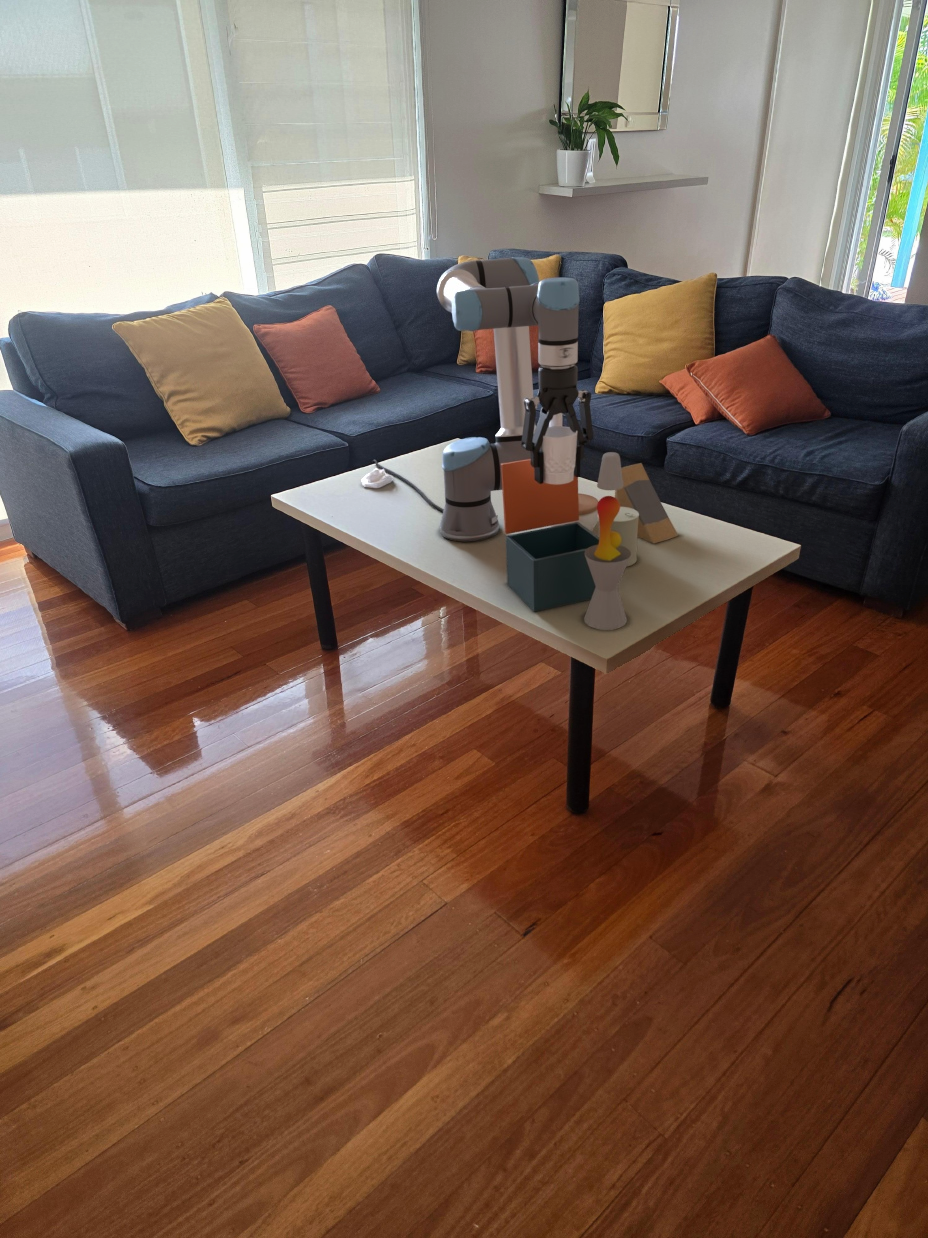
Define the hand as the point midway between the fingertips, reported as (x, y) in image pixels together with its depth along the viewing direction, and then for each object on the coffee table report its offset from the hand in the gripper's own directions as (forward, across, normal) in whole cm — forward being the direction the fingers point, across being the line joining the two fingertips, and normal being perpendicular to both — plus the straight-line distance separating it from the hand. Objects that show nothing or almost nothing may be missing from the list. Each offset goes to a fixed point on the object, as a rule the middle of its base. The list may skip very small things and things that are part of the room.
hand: (557, 478), depth 171 cm
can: (+26, +20, +8) cm, 33 cm away
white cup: (0, 0, 0) cm, 0 cm away
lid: (+6, 0, +8) cm, 10 cm away
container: (+26, 0, 0) cm, 26 cm away
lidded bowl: (+26, +16, +25) cm, 40 cm away
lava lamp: (+26, +3, -16) cm, 31 cm away
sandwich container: (+26, +34, +20) cm, 48 cm away
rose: (+26, -17, +87) cm, 93 cm away
